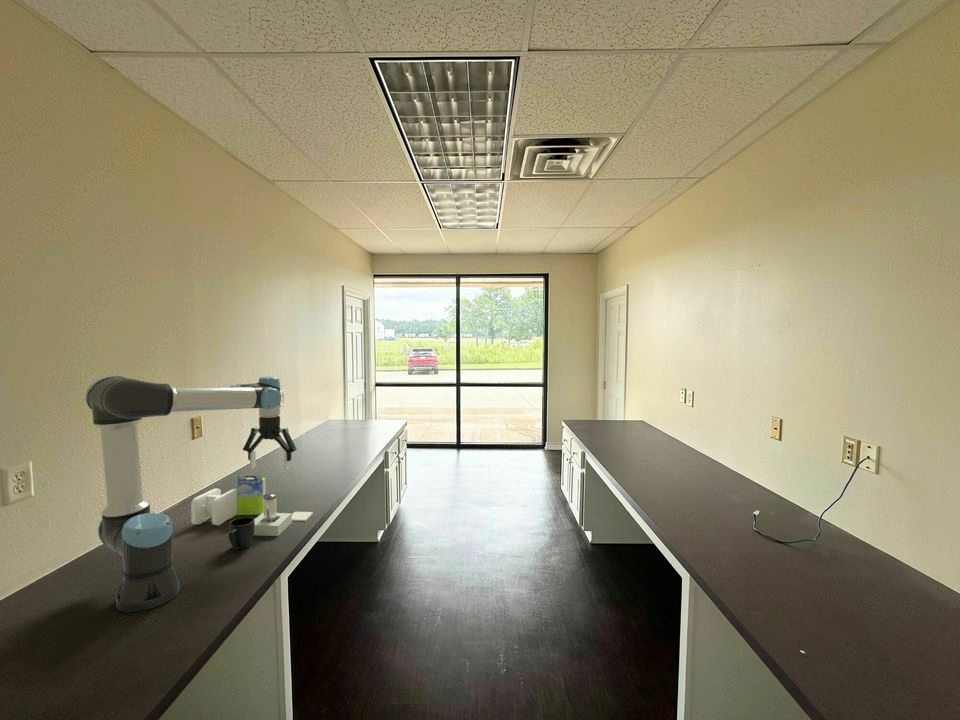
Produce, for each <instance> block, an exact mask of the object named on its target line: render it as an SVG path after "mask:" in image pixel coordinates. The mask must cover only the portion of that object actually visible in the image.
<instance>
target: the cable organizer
mask: <svg viewBox="0 0 960 720" xmlns="http://www.w3.org/2000/svg"><path fill="white" fill-rule="evenodd" d="M190 505H191V508H190V510H191V511H190V512H191V513H190V514H191V524H192V525H195V526H196V525H202V524H203V523H205V522H207V521H208V520H209V519H211V523H212V525H213V526H221V525H222V524H224V523H225V522H226V521H228V520H230V519H232V518H234V517H235V516H236V515H238V488H237V489H236V488H233V489H230V490H228V491H226V492H224V493H223V494H222V492H221V489H220V488H213V489H210V490H208V491H206V492H204V493H202V494H200V495H197V496H196V497H194V498H193V499H192V500H191V502H190Z"/></svg>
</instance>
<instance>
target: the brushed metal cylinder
mask: <svg viewBox="0 0 960 720" xmlns="http://www.w3.org/2000/svg"><path fill="white" fill-rule="evenodd" d="M277 497H278V493H276V492H269V493H266V494H265V495H263V498H264V522H275V521H276V520H277V513H278V512H277V509H278V508H277V504H278V503H277V499H278V498H277Z"/></svg>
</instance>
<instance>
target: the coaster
mask: <svg viewBox="0 0 960 720" xmlns="http://www.w3.org/2000/svg"><path fill="white" fill-rule="evenodd" d="M313 514H314V512H313V511H294V512H293V513H292V522H307V520H309V518H310V517H312V516H313Z"/></svg>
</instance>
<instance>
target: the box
mask: <svg viewBox="0 0 960 720" xmlns="http://www.w3.org/2000/svg"><path fill="white" fill-rule="evenodd" d="M266 478H267V477H263V475H237V490H238V512H237V516H251V515H253V516H254V515H255V516H256V515H257V516H259V515H261V514H262V513H264V498H263V495H265V494H267V492H266V491H267V490H266V489H267V488H266V485H267V482H266V481H267V480H266Z"/></svg>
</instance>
